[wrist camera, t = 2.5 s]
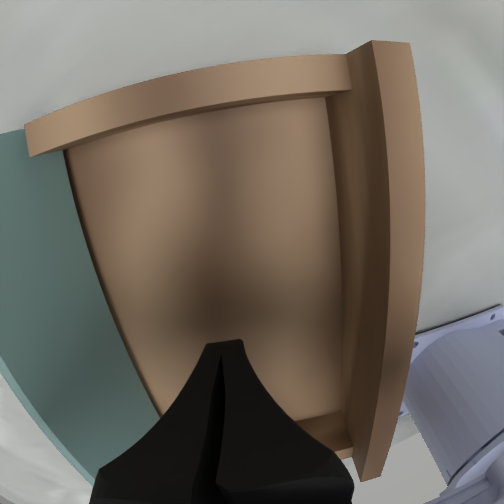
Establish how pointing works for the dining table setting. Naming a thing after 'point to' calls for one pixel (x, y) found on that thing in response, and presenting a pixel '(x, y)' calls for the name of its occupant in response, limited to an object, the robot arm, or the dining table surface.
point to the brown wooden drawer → (262, 229)
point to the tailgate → (61, 319)
